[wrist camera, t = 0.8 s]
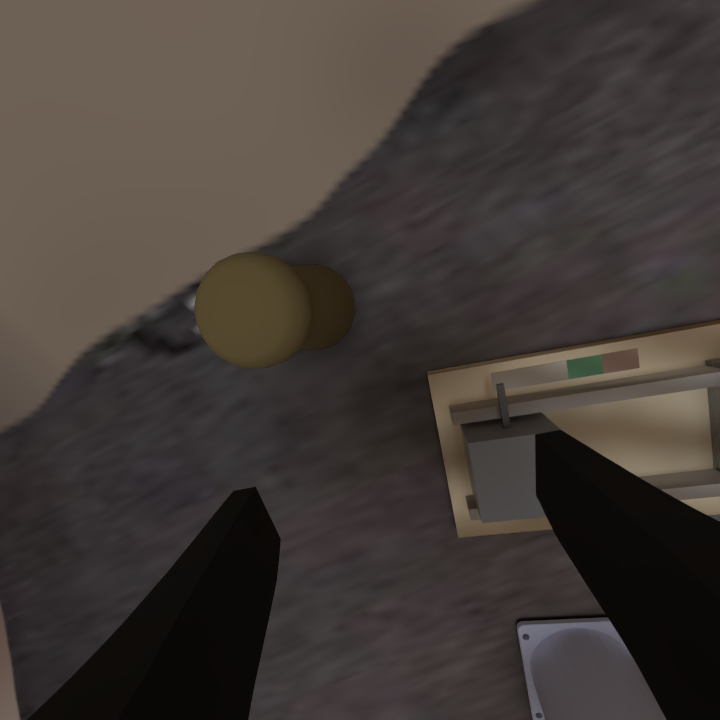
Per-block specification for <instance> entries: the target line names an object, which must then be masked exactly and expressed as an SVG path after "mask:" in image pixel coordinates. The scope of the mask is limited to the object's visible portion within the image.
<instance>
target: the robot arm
mask: <svg viewBox="0 0 720 720" xmlns="http://www.w3.org/2000/svg"><path fill="white" fill-rule="evenodd" d="M535 468H536V496H537V498H538V500H539V502H540V504H541V506H542V509H543V511H544V513H545V515H546V517H547V519H548V521H549V523H550V525H551V527H552V529H553V531H554V533H555V535H556V536H557V538H558V540H559V541H560V543H561V545H562V546H563V548H564V549H565V551H566V552H567V554H568V556H569V557H570V559H571V560H572V562H573V564H574V565H575V567H576V568H577V570H578V572H579V573H580V575H581V576H582V578H583V579H584V581H585V582H586V584H587V586H588V587H589V589H590V590H591V592H592V593H593V595H594V597H595V598H596V600H597V601H598V603H599V604H600V606H601V608H602V609H603V611H604V612H605V614H606V615H607V617H602V618H580V619H559V620H537V621H521V622H519V623H518V624H517V633H518V639H519V645H520V650H521V656H522V662H523V668H524V674H525V679H526V685H527V691H528V697H529V703H530V708H531V714H532V720H720V522H719V521H717V520H715V519H713V518H711V517H709V516H708V515H706V514H704V513H702V512H700V511H698V510H696V509H694V508H692V507H691V506H689V505H687V504H685V503H683V502H682V501H680V500H678V499H676V498H674V497H673V496H671V495H669V494H667V493H665V492H664V491H662V490H660V489H658V488H657V487H655V486H653V485H651V484H650V483H648V482H646V481H645V480H643V479H641V478H639V477H638V476H636V475H634V474H633V473H631V472H629V471H628V470H626V469H624V468H623V467H621V466H619V465H618V464H616V463H614V462H613V461H611V460H609V459H608V458H606V457H605V456H603V455H601V454H600V453H598V452H596V451H595V450H593V449H592V448H590V447H588V446H587V445H585V444H583V443H582V442H580V441H579V440H577V439H575V438H574V437H572V436H570V435H569V434H567V433H565V432H564V431H562V430H556V431H551V432H545V433H540V434H535ZM280 540H281V539H280V537H279V535H278V533H277V531H276V528H275V526H274V524H273V522H272V520H271V518H270V516H269V514H268V512H267V510H266V508H265V505H264V503H263V501H262V499H261V497H260V495H259V493H258V491H257V489H256V487H252V488H247V489H242V490H236V491H233V492H232V494H231V495H230V496H229V497H228V498H227V499H226V501H225V502H224V503H223V504H222V505H221V507H220V508H219V509H218V510H217V512H216V513H215V514H214V515H213V517H212V518H211V519H210V520H209V522H208V523H207V524H206V525H205V527H204V528H203V529H202V530H201V532H200V533H199V534H198V535H197V537H196V538H195V539H194V540H193V542H192V543H191V544H190V545H189V546H188V548H187V549H186V550H185V551H184V553H183V554H182V555H181V556H180V558H179V559H178V560H177V561H176V562H175V564H174V565H173V566H172V567H171V569H170V570H169V571H168V572H167V573H166V574H165V576H164V577H163V578H162V579H161V580H160V581H159V583H158V584H157V585H156V586H155V587H154V588H153V589H152V591H151V592H150V593H149V594H148V595H147V596H146V597H145V599H144V600H143V601H142V602H141V603H140V604H139V606H138V607H137V608H136V609H135V610H134V611H133V612H132V614H131V615H130V616H129V617H128V618H127V619H126V620H125V621H124V623H123V624H122V625H121V626H120V627H119V628H118V629H117V630H116V631H115V632H114V633H113V634H112V636H111V637H110V638H109V639H108V640H107V641H106V642H105V643H104V644H103V645H102V646H101V647H100V648H99V649H98V650H97V651H96V652H95V653H94V654H93V655H92V657H91V658H90V659H89V660H88V661H87V662H86V663H85V664H84V665H83V666H82V667H81V668H80V669H79V670H78V671H77V672H76V673H75V674H74V675H73V676H72V677H71V678H70V679H69V680H68V681H67V682H66V683H65V684H64V685H63V686H62V687H61V688H60V689H59V690H58V691H57V692H56V693H55V694H54V695H53V696H52V697H51V698H49V699H48V700H47V701H46V702H45V703H44V704H43V705H42V706H41V707H40V708H39V709H38V710H37V711H36V712H35V713H34V714H33V715H32V716H31V717H29V718H28V719H27V720H248V717H249V712H250V706H251V701H252V695H253V690H254V685H255V680H256V676H257V671H258V667H259V662H260V657H261V653H262V648H263V643H264V639H265V634H266V629H267V625H268V620H269V616H270V611H271V606H272V601H273V596H274V591H275V586H276V581H277V573H278V564H279V552H280ZM523 634H527V635H523Z"/></svg>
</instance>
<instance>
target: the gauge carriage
mask: <svg viewBox="0 0 720 720" xmlns="http://www.w3.org/2000/svg"><path fill="white" fill-rule="evenodd" d="M496 390H497V396H498V402H499V408H500V414H501V418H499V419H492V420H485V421H479V422H472V423H465V424H460V426H461V432H462V437H463V443H464V449H465V454H466V460H467V465H468V471H469V476H470V482H471V487H472V492H473V496H474V499H475V502H476V505H477V509H478V512H479V515H480V518H481V522H482V523H490V522H500V521H511V520H521V519H532V518H542V517H546V515H545V513H544V511H543V509H542V506H541V504H540V502H539V500H538V498H537V496H536V468H535V434H540V433H545V432H551V431H556V430H561V429H560V428H559V427H557V426H556V425H555V424H554V423H553V422H552V421H551V420H549V419H548V418H547V417H546V416H545V415H544V414H543V413H541V412H540V413H533V414H526V415H519V416H513V417H509V413H508V407H507V400H506V394H505V388H504V384H503V383H499V384H496Z"/></svg>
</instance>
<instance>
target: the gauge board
mask: <svg viewBox="0 0 720 720" xmlns="http://www.w3.org/2000/svg"><path fill="white" fill-rule="evenodd" d="M716 358H720V320H715V321H710V322H704V323H698V324H693V325H687V326H681V327H676V328H670V329H664V330H659V331H653V332H648V333H642V334H636V335H631V336H625V337H619V338H614V339H608V340H602V341H597V342H591V343H586V344H580V345H574V346H569V347H563V348H557V349H552V350H546V351H540V352H535V353H529V354H523V355H518V356H512V357H507V358H501V359H495V360H490V361H484V362H478V363H473V364H467V365H461V366H456V367H450V368H444V369H439V370H433V371H428V372H427V375H428V380H429V386H430V391H431V396H432V401H433V407H434V412H435V417H436V423H437V428H438V433H439V438H440V444H441V449H442V454H443V459H444V465H445V470H446V475H447V480H448V486H449V491H450V496H451V501H452V507H453V512H454V517H455V523H456V528H457V533H458V538H460V537H471V536H482V535H493V534H504V533H516V532H527V531H538V530H549V529H552V527H551V525H550V523H549V521H548V519H547V517H542V518H532V519H521V520H511V521H500V522H490V523H482V522H481V518H480V515H479V512H478V509H477V505H476V502H475V499H474V496H473V492H472V487H471V482H470V476H469V471H468V465H467V460H466V454H465V449H464V443H463V437H462V432H461V426H460V424H465V423H472V422H479V421H485V420H492V419H499V418H501V414H500V408H499V402H498V396H497V390H496V384H499V383H503V384H504V388H505V394H506V400H507V407H508V413H509V417H513V416H519V415H526V414H533V413H540V412H541V413H543V414H544V415H545V416H546V417H547V418H548V419H549V420H551V421H552V422H553V423H554V424H555V425H556V426H557V427H559V428H560V429H561V430H562V431H564V432H565V433H567V434H569V435H570V436H572V437H574V438H575V439H577V440H579V441H580V442H582V443H583V444H585V445H587V446H588V447H590V448H592V449H593V450H595V451H596V452H598V453H600V454H601V455H603V456H605V457H606V458H608V459H609V460H611V461H613V462H614V463H616V464H618V465H619V466H621V467H623V468H624V469H626V470H628V471H629V472H631V473H633V474H634V475H636V476H638V477H639V478H641V479H643V480H645V481H646V482H648V483H650V484H651V485H653V486H655V487H657V488H658V489H660V490H662V491H664V492H665V493H667V494H669V495H671V496H673V497H674V498H676V499H678V500H680V501H682V502H683V503H685V504H687V505H689V506H691V507H692V508H694V509H696V510H698V511H700V512H702V513H704V514H706V515H716V514H720V472H719V471H717V470H715V469H714V467H713V455H712V442H711V430H710V418H709V405H708V393H707V388H709V387H716V386H720V368H716V367H711V366H707V365H705V360H709V359H716Z"/></svg>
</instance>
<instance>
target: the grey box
mask: <svg viewBox="0 0 720 720" xmlns="http://www.w3.org/2000/svg"><path fill="white" fill-rule="evenodd" d="M705 365H707V366H711V367H716V368H720V358H716V359H709V360H705ZM707 393H708V405H709V418H710V430H711V442H712V455H713V467H714V469H715V470H717V471H719V472H720V386H716V387H709V388H707Z"/></svg>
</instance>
